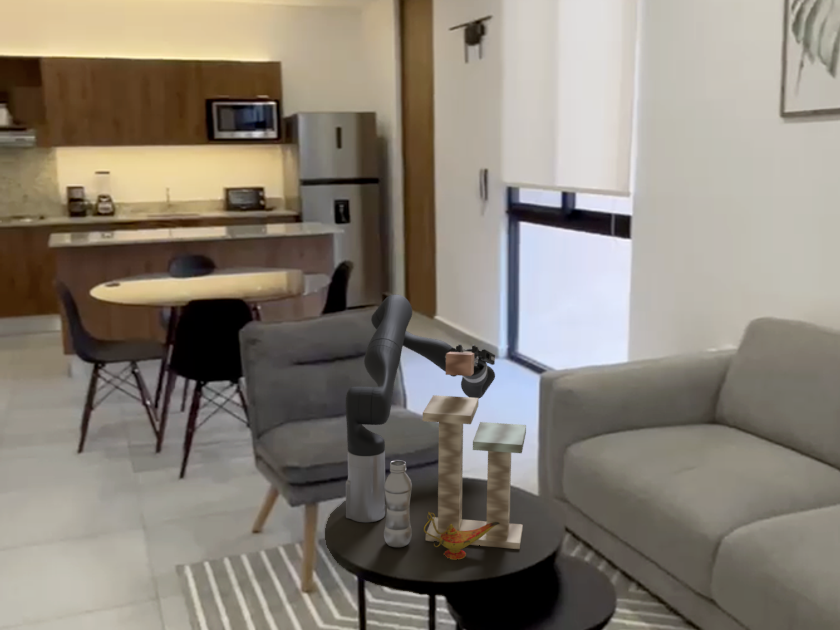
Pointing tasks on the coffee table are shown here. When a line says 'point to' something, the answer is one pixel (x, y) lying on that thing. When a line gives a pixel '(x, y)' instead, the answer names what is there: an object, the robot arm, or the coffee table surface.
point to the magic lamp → (458, 538)
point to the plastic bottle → (397, 505)
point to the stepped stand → (487, 438)
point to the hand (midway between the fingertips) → (466, 348)
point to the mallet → (460, 363)
